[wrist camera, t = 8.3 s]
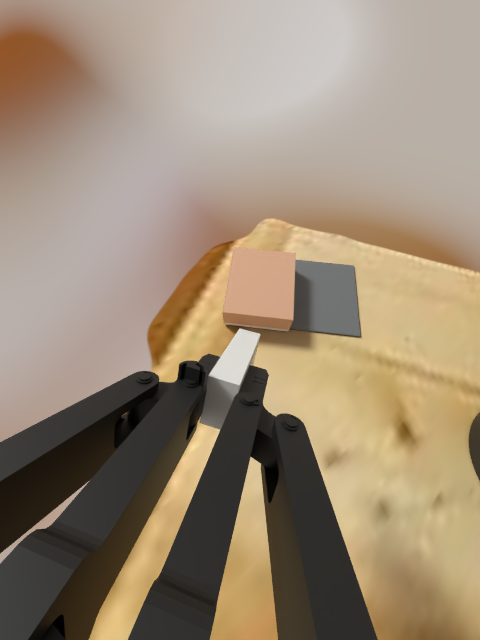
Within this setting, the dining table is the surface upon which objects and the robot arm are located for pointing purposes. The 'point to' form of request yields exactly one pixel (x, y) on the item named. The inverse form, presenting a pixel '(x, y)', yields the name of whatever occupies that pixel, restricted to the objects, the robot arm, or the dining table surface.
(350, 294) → the mat
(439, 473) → the dining table surface
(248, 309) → the tan and white box
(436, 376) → the dining table surface
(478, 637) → the dining table surface
